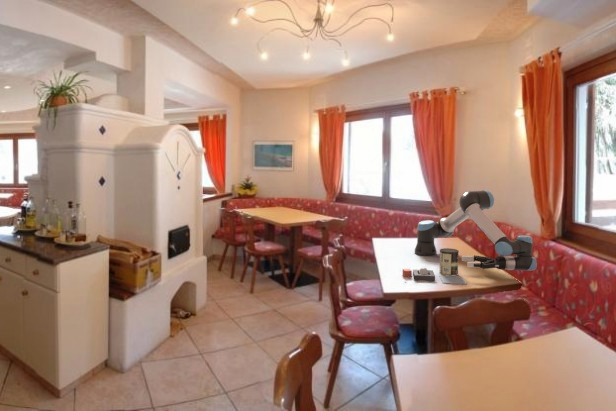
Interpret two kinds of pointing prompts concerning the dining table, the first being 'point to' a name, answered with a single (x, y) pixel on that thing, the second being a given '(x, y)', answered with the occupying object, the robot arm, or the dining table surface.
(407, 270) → the die
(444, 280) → the square pad
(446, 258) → the coffee can
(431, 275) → the popper frame
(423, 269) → the dome
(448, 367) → the dining table surface
